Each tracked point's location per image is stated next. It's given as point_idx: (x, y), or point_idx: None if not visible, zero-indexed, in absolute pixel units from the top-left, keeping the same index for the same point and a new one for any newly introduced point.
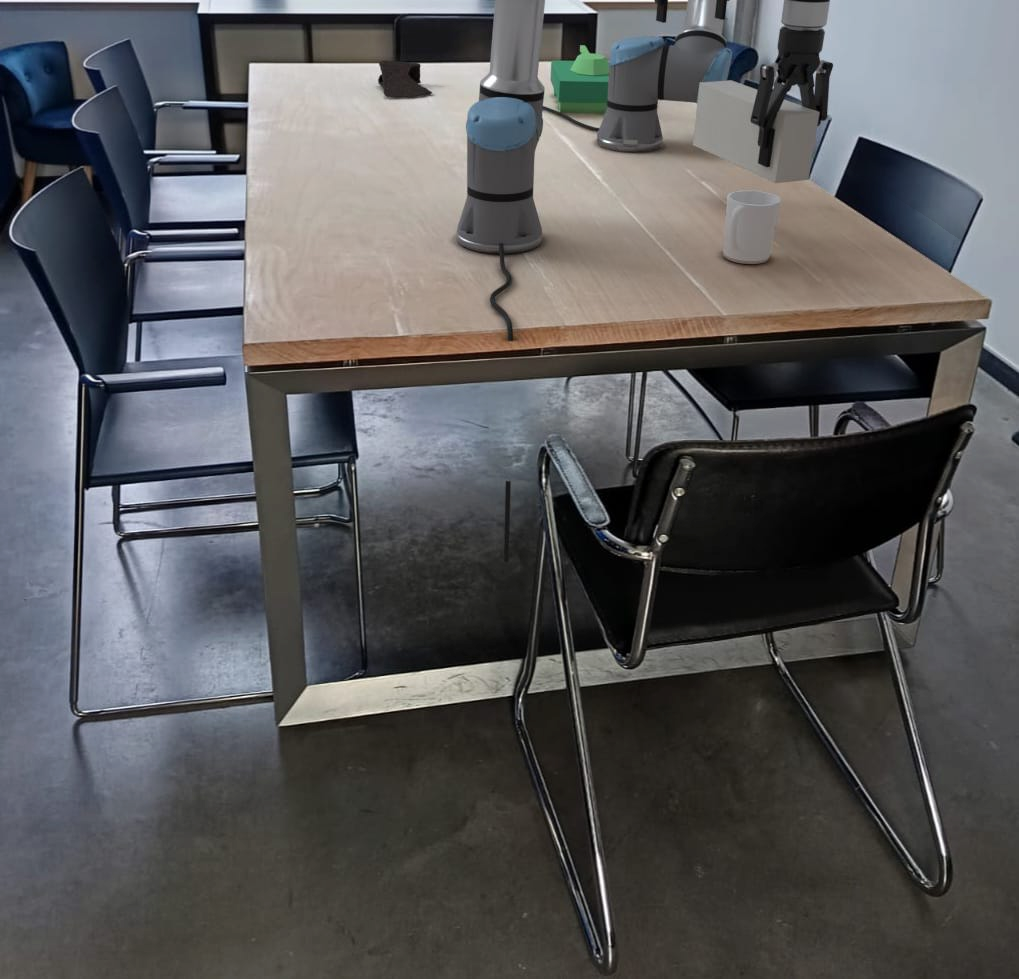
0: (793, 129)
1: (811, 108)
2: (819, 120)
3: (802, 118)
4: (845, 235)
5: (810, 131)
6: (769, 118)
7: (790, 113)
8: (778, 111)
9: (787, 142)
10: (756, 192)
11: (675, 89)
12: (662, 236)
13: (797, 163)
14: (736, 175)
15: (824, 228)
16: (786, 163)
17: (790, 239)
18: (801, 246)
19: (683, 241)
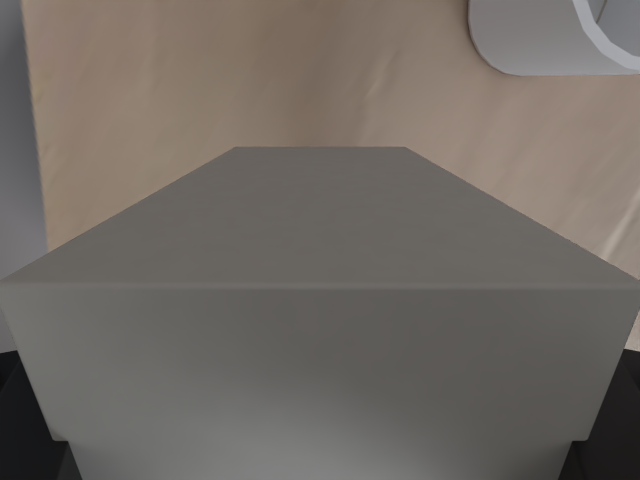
0: (399, 212)
1: (47, 447)
2: (10, 356)
3: (309, 252)
4: (143, 75)
5: (200, 203)
6: (631, 384)
7: (499, 333)
8: (572, 445)
9: (417, 183)
10: (598, 31)
11: None
12: (592, 232)
13: (303, 157)
14: None
15: (173, 149)
16: (374, 159)
17: (314, 101)
18: (319, 34)
19: (576, 184)
